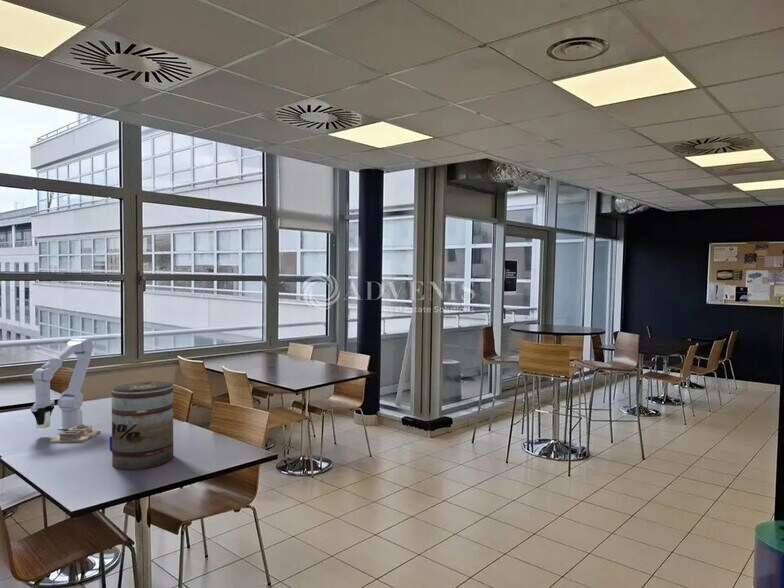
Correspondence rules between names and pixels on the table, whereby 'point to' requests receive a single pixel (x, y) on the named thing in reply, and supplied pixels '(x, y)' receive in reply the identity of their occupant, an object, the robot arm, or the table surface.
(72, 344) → the robot arm
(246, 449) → the table surface
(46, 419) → the brushed aluminum block
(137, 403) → the barrel
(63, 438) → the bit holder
